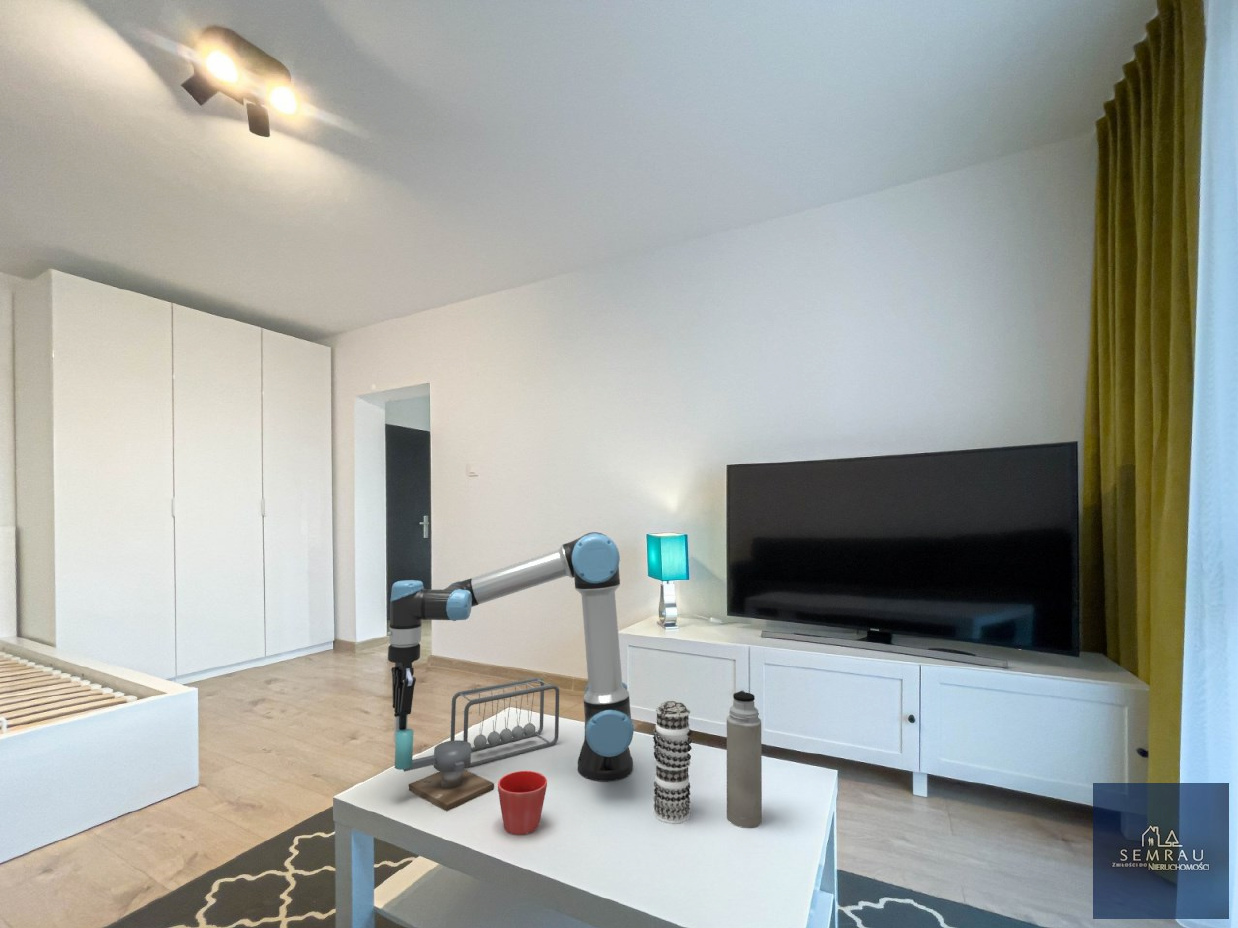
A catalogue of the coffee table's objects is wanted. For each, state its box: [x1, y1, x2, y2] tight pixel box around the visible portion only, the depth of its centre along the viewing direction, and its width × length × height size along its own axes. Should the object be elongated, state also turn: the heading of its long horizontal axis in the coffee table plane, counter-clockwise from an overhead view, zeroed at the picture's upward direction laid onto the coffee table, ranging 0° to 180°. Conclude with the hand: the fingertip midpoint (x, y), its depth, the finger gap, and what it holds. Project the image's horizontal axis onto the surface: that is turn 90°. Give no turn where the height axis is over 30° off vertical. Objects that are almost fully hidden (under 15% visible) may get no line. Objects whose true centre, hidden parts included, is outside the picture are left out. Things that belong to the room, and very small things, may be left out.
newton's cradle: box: [449, 676, 560, 768], centre depth 171 cm, size 30×10×18 cm, turn 126°
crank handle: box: [394, 728, 472, 772], centre depth 145 cm, size 18×12×10 cm, turn 124°
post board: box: [408, 768, 495, 812], centre depth 147 cm, size 16×14×6 cm
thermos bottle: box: [726, 691, 763, 828], centre depth 136 cm, size 8×8×28 cm
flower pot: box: [497, 770, 548, 836], centre depth 131 cm, size 11×11×10 cm
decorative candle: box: [652, 700, 693, 825], centre depth 137 cm, size 9×9×25 cm
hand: (400, 740), depth 144 cm, fingers closed
